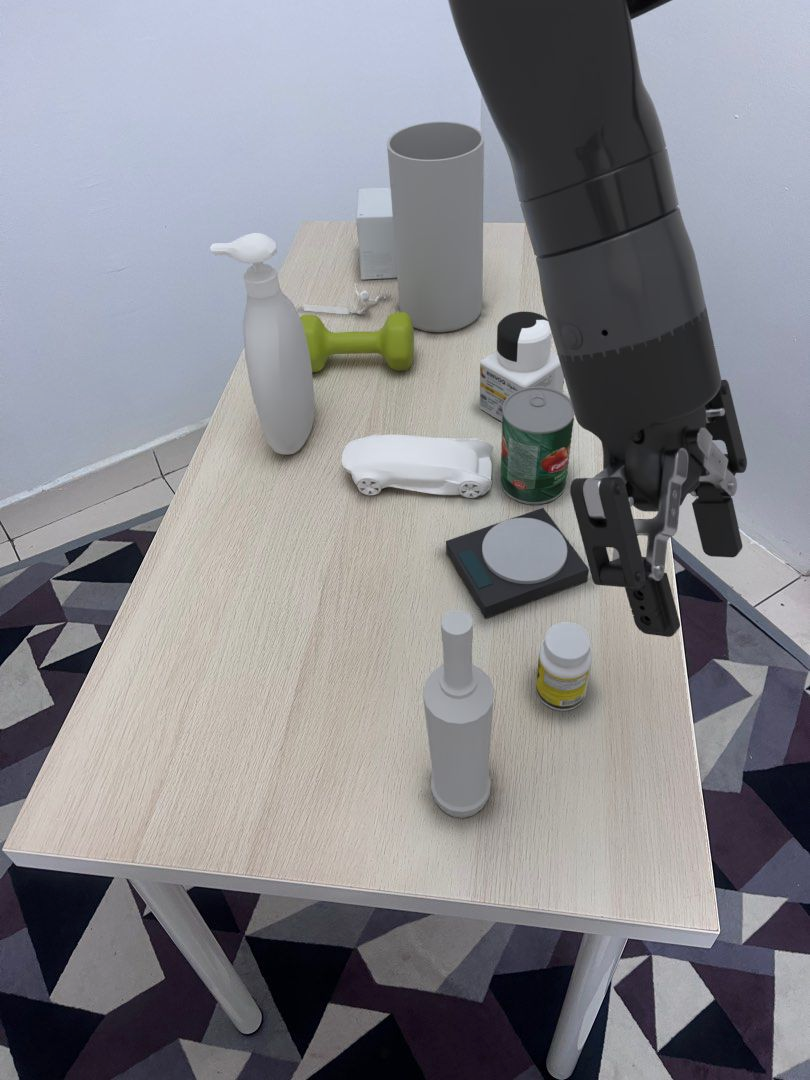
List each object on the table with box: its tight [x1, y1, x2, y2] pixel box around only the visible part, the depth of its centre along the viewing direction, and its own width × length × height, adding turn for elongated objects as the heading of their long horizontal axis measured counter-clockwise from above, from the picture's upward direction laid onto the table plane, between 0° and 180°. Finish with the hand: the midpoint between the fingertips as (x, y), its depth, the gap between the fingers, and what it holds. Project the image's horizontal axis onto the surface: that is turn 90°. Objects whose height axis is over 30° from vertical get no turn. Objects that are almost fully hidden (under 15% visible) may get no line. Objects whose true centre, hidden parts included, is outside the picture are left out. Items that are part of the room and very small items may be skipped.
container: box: [479, 311, 565, 422], centre depth 100 cm, size 8×8×13 cm
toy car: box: [341, 433, 494, 499], centre depth 95 cm, size 18×8×4 cm, turn 84°
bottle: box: [422, 608, 495, 819], centre depth 60 cm, size 5×5×25 cm
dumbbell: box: [300, 311, 415, 373], centre depth 111 cm, size 16×8×7 cm, turn 86°
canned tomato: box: [499, 387, 575, 506], centre depth 91 cm, size 8×8×11 cm
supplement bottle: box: [535, 621, 593, 712], centre depth 73 cm, size 5×5×8 cm
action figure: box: [302, 283, 387, 315], centre depth 122 cm, size 12×5×7 cm
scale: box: [445, 507, 590, 619], centre depth 85 cm, size 12×10×3 cm
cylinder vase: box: [386, 120, 485, 333], centre depth 112 cm, size 12×12×25 cm
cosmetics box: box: [355, 186, 397, 281], centre depth 128 cm, size 10×6×10 cm, turn 1°
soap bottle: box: [209, 232, 315, 455], centre depth 94 cm, size 14×8×27 cm, turn 172°
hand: (694, 590), depth 46 cm, fingers open, 8 cm apart
